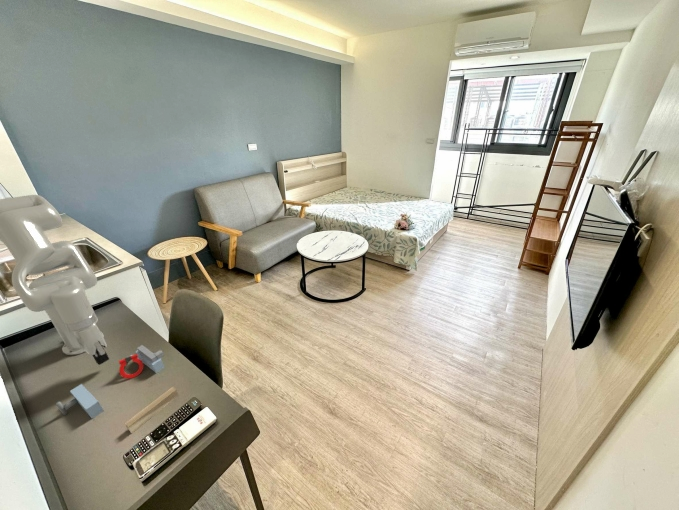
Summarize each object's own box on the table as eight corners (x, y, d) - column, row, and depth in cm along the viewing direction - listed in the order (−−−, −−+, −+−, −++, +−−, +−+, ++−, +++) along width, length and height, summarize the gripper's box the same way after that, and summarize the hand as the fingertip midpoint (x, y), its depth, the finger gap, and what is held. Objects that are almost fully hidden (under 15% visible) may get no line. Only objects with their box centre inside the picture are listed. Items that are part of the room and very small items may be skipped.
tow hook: (122, 382, 93) (115, 362, 93) (126, 376, 102) (120, 358, 102) (145, 372, 97) (139, 352, 97) (147, 367, 105) (141, 349, 106)
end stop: (128, 429, 79) (124, 423, 78) (174, 392, 90) (172, 386, 89) (131, 433, 79) (128, 427, 77) (178, 395, 89) (176, 389, 88)
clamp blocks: (59, 410, 85) (50, 397, 82) (151, 352, 106) (146, 340, 103) (75, 430, 79) (66, 417, 76) (169, 365, 100) (164, 352, 98)
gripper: (58, 319, 90) (81, 360, 98) (76, 336, 83) (100, 377, 91) (86, 307, 96) (105, 346, 104) (105, 322, 89) (125, 362, 97)
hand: (103, 361), depth 97 cm, fingers closed
